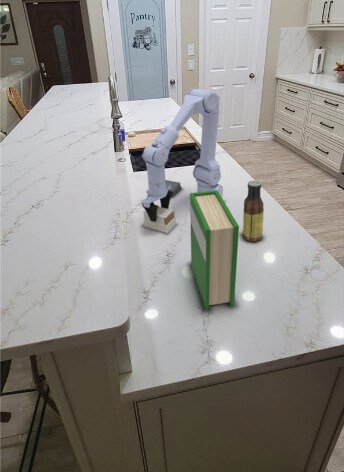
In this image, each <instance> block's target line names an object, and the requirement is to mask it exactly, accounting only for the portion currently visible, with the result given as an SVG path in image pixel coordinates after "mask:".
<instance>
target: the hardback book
mask: <svg viewBox="0 0 344 472" xmlns="http://www.w3.org/2000/svg"><path fill="white" fill-rule="evenodd" d="M189 208H190V209H189V210H190V211H189V212H190V213H189V214H190V215H189V216H190V220H189V221H190V263H191V268H192V271H193V274H194V278H195V281H196V284H197V287H198V290H199V294H200V296H201V297H200V298H201V300H202V303H203V306H204V309H205V310H206V311H208V310H210V306H212V305H213V306H215V305H220V304H221V305H222V304H226V303H227V304H229V307H233V306H235V295H236V281H237V280H236V279H237V266H238V265H237V264H238V251H239V250H238V248H239V232H240V225H239V224H238V222H237V220H236V219H235V217H234V216H233V214H232V212H231V210H230V209H229V207H228V206H227V204H226V202H225V201H224V198H223V196H222V197H221V196H220V194H219V192H218V191H217V190H215V191H206V192H197V191H196V192H190V193H189Z"/></svg>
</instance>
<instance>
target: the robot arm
mask: <svg viewBox="0 0 344 472" xmlns="http://www.w3.org/2000/svg"><path fill="white" fill-rule="evenodd" d="M196 114H197V115H198V114H200V115H201V116H202V125H201V127H202V128H201V130H202V131H201V140H200V153H199V154H200V155H199V158H198V159H197V160H195V163H194V167H193V169H192V176H193V178H194V179H195V182H196V187H197V188H196V193H197V192H206V191H215V190H217V191H218V192H219V194H220V196H221V197H222V198H223V195H224V194H223V192H224V189H223V187H224V186H223V185H222V184H219V182H220V180H221V178H222V172H221V165H220V163H218V161H217V160H216V153H217V152H216V151H217V142H218V141H217V140H218V139H217V138H218V130H219V120H220V119H219V118H220V117H219V116H220V96H219V95H218V93H217V92H215V91H214V90H206V89H199V88H196V87H192V88H190V89H188V91H187V93H186V95H185V96H184V97H183V104H182V105H181V107H180V109H179V110H178V111H177V113H176V115H175V116H174V118H173V120H172V121H171V122H170V124H169V125H166V126H163V128H161V129H160V131H159V134H158V135H157V136H156V137H155V139H154V140H153V141H152V143H151V144H149V145H147V146H146V147H145V148H144V150H143V152H142V154H141V157H142V160H143V161H144V162H145V166H146V173H147V185H148V190H146V194H147V195H146V197H145V199H144V200H143V201H142V203H141V207H142V208H143V209H144V211H145V210H146V212H147V214H148V216H149V218H150V221H153V222H156V220H157V210H158V207H162V208H166V209H169V207H170V203H171V200H172V198H173V197H172V195H173V192H171V191H169V190H171V184H165V180H166V170H165V164H166V163H167V162H168V159H169V154H170V150H171V149H172V147H173V146H174V145H175V143H176V142H177V140H178V139H179V138H180V136H179V132H180V131H181V130H182V128H184V126H185V125H186V123H188V121H189V120H190V119H191V118H192V117H193V115H196ZM156 201H159V203H160V205H157V204H155V202H156Z"/></svg>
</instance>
